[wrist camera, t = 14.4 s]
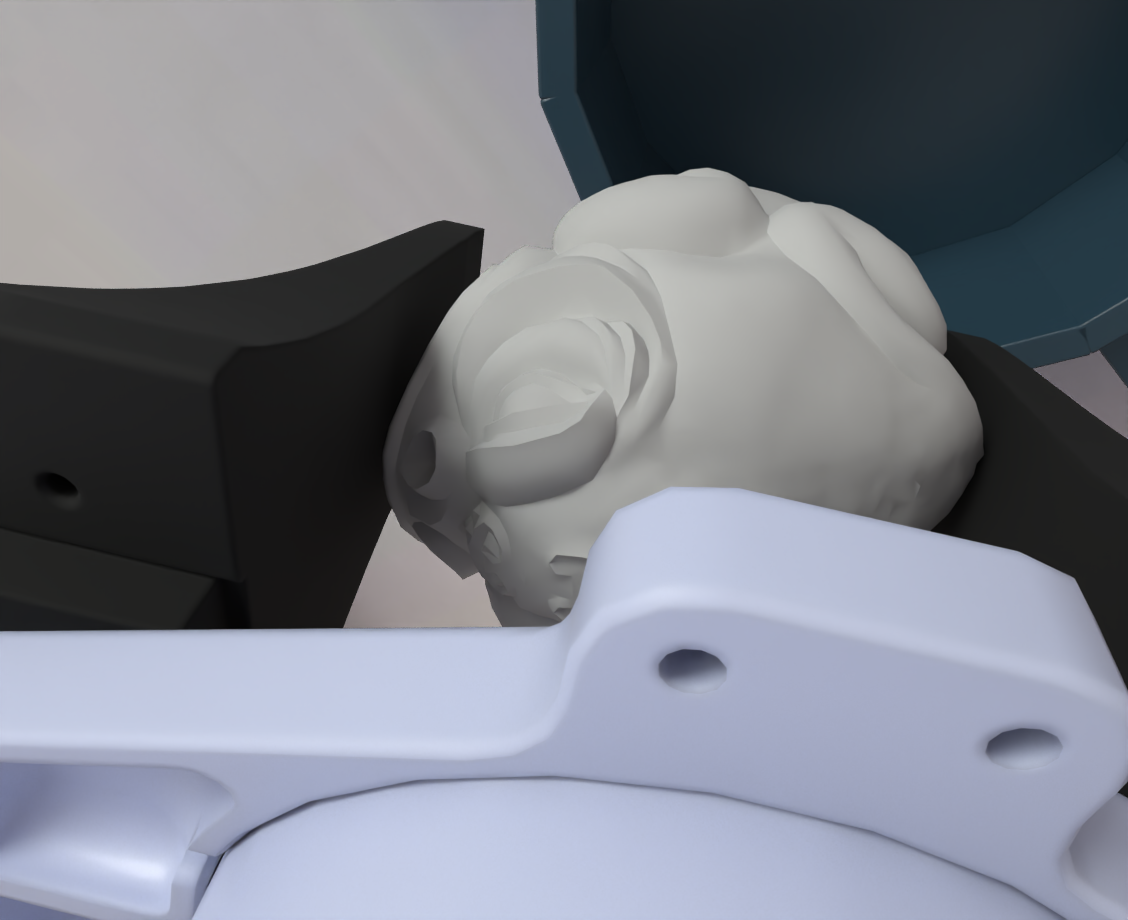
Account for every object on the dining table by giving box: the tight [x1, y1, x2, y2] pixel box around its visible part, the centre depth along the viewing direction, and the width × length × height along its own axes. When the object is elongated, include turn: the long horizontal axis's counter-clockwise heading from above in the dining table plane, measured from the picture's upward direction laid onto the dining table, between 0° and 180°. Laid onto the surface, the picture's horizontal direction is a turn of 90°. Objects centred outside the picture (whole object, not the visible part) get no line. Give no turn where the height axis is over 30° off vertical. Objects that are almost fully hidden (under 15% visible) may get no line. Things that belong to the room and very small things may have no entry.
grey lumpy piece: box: [382, 168, 984, 627], centre depth 11 cm, size 6×7×7 cm
